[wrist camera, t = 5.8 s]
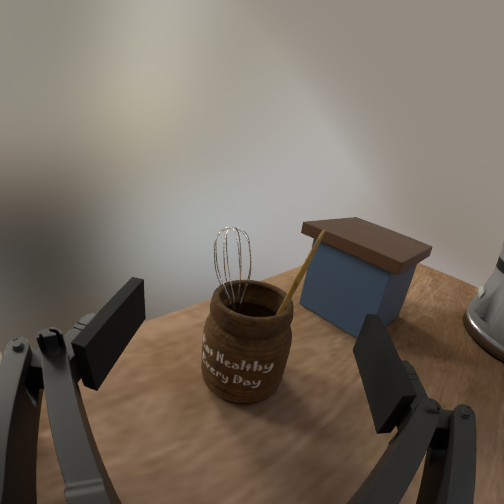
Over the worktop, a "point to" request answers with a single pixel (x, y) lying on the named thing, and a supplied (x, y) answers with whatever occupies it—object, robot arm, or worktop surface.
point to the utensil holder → (248, 335)
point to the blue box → (359, 271)
